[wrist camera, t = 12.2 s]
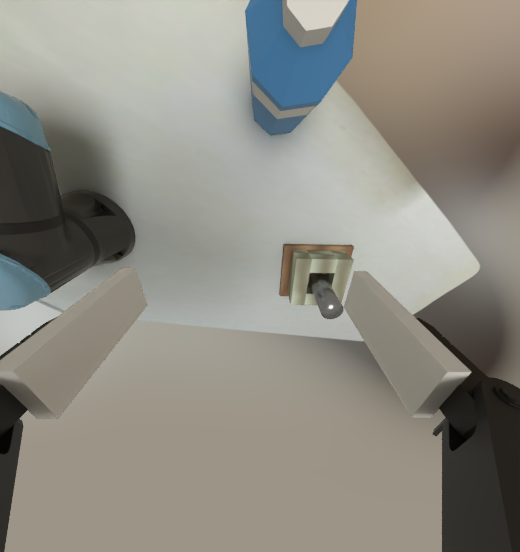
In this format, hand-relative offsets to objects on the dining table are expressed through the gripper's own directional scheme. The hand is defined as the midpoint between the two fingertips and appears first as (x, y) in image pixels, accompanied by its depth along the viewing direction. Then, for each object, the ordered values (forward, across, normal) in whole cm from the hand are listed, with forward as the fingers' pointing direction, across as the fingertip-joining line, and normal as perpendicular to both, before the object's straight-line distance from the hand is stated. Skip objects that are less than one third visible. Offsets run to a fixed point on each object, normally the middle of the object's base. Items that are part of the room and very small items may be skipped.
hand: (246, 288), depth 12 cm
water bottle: (+33, +4, +16) cm, 37 cm away
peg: (+32, +15, -16) cm, 39 cm away
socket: (+33, +15, -16) cm, 39 cm away
